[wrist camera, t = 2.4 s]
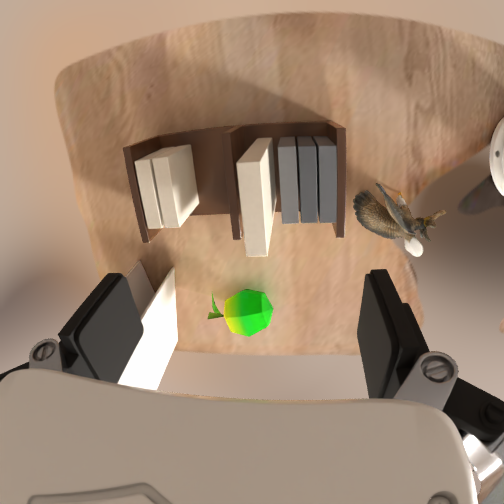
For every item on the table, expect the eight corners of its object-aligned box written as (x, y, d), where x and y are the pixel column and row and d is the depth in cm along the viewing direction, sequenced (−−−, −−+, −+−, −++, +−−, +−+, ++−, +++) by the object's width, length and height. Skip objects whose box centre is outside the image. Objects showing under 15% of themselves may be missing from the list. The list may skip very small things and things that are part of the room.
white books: (191, 144, 32) (167, 156, 26) (199, 203, 35) (179, 227, 29) (162, 148, 32) (134, 161, 26) (171, 205, 36) (148, 229, 30)
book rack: (333, 121, 30) (345, 128, 23) (334, 207, 35) (344, 237, 28) (156, 135, 33) (122, 147, 26) (169, 214, 37) (142, 242, 30)
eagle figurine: (437, 182, 30) (374, 162, 29) (454, 235, 27) (388, 221, 25) (404, 216, 37) (344, 204, 35) (414, 266, 33) (351, 258, 32)
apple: (270, 330, 35) (199, 339, 37) (281, 335, 40) (218, 343, 42) (263, 272, 37) (196, 285, 39) (274, 285, 43) (215, 295, 45)
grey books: (327, 135, 30) (336, 145, 24) (328, 198, 33) (336, 222, 27) (280, 136, 31) (277, 146, 24) (284, 199, 34) (282, 223, 28)
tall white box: (138, 260, 41) (12, 438, 15) (174, 266, 41) (61, 468, 15) (147, 332, 48) (69, 489, 22) (177, 339, 48) (110, 507, 22)
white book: (272, 137, 31) (260, 161, 19) (276, 199, 34) (267, 256, 23) (257, 138, 31) (236, 162, 20) (262, 200, 34) (245, 256, 23)
